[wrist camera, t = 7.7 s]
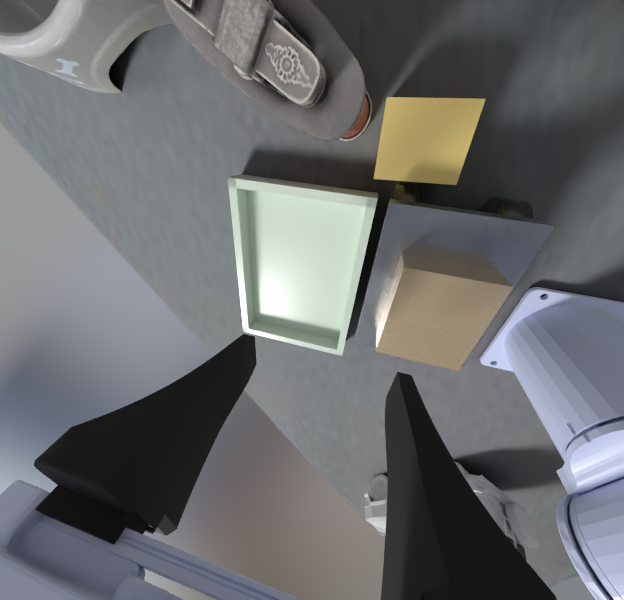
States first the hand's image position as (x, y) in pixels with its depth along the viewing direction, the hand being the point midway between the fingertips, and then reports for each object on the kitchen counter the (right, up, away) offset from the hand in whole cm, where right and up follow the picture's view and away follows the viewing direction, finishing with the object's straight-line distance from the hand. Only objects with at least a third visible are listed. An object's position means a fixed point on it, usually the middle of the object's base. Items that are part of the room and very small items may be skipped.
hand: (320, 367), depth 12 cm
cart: (+8, +6, +7) cm, 12 cm away
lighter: (0, +16, +2) cm, 17 cm away
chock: (+6, +13, +3) cm, 15 cm away
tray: (-1, +6, +9) cm, 11 cm away
